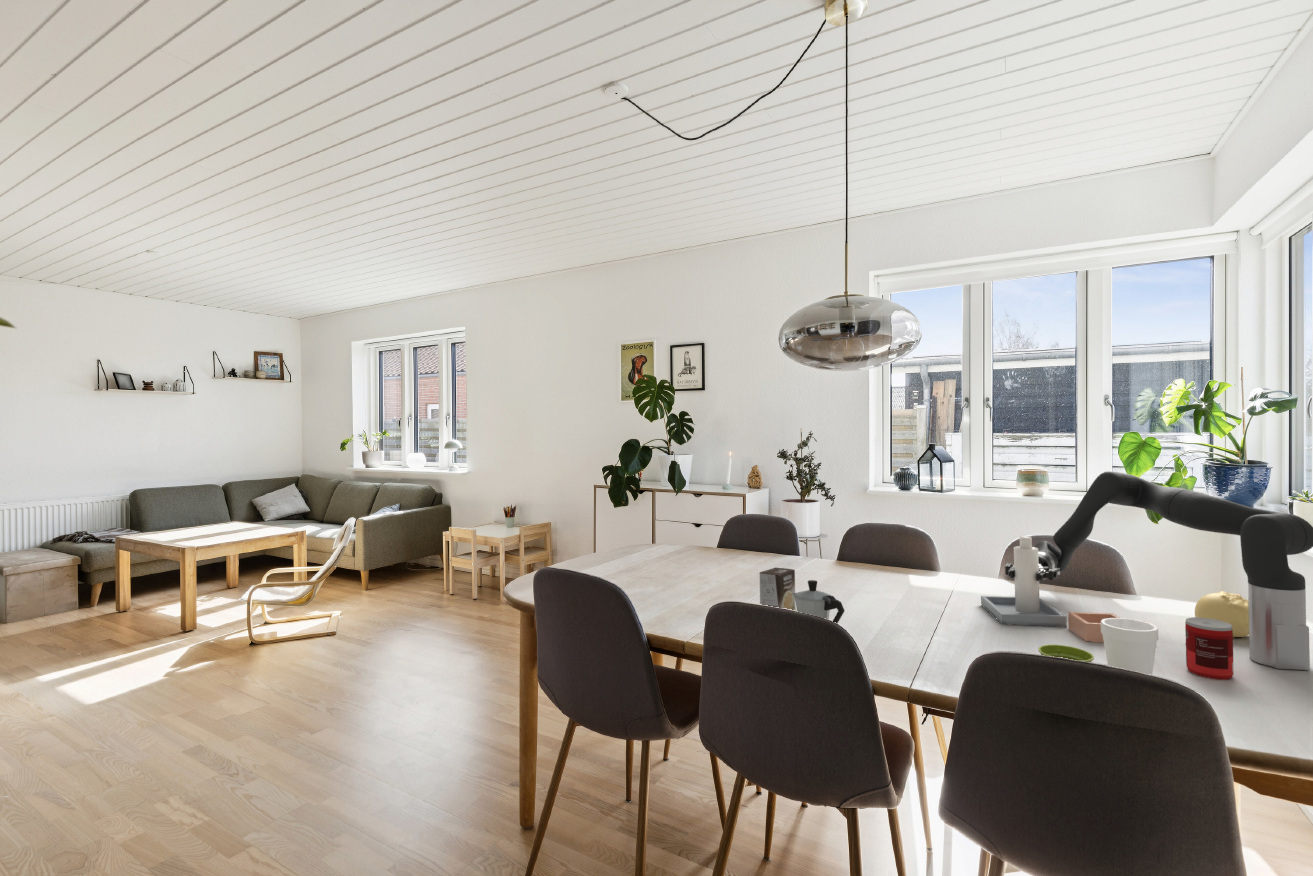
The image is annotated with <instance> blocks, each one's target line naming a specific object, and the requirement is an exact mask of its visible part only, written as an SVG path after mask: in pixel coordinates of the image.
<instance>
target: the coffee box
mask: <svg viewBox="0 0 1313 876" xmlns="http://www.w3.org/2000/svg"><path fill="white" fill-rule="evenodd" d="M795 571H796V570H795V569H792V568H786V567H782V568H781V567H774V568H770V569H766V570H763V571H760V572H759V605H760V604H762V605H768V606H773V607H779V608H787V609H792V610H795V611H796V601H795V597H794V595H793V594H792V593H796V572H795Z"/></svg>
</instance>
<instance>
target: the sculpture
mask: <svg viewBox="0 0 1313 876" xmlns="http://www.w3.org/2000/svg"><path fill="white" fill-rule="evenodd" d="M1194 617H1199V618H1209V619H1215V620H1220V621H1223V622H1226V623H1229V624H1231V625H1232V628H1233V638H1235V637H1242V638H1244V637H1247V636H1249V612H1248V600H1247V599H1246V598H1245V597H1242V596H1241V594H1238V593H1230V592H1227V591H1225V590H1221V591H1220V592H1213V593H1212V592H1211V593H1208V594H1205V595H1203V596H1202V597H1200V598H1199V599H1198V600H1197V601H1196V603H1195V607H1194Z"/></svg>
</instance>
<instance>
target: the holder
mask: <svg viewBox="0 0 1313 876" xmlns="http://www.w3.org/2000/svg"><path fill="white" fill-rule="evenodd" d="M1067 616H1068V621H1067V623H1068V624H1067V627H1068V630H1069V629H1070V630H1069V631H1071V632H1072V631H1073V632H1072V633H1073V634H1075V633H1076V634H1077V635H1076V634H1075V635H1076V636H1078V637H1079V636H1080V637H1079V638H1081V639H1082V640H1083V639H1084V640H1083V641H1085V642H1086V641H1091V643H1104V641H1103V635H1102V633H1101V620H1102V619H1106V618H1121V616H1118V615H1116V614H1114V613H1113V612H1112V613H1111V612H1109V613H1107V612H1106V613H1105V612H1082V611H1081V612H1080V611H1079V612H1077V611H1076V612H1075V611H1068V614H1067Z"/></svg>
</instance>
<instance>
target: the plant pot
mask: <svg viewBox="0 0 1313 876" xmlns="http://www.w3.org/2000/svg"><path fill="white" fill-rule="evenodd" d="M1037 650H1038V652H1039V653H1040V656H1041V655H1045V656H1052V657H1053V656H1054V657H1063V658H1068V659H1073V660H1077V661H1085V662H1091V663H1092V662H1093V661H1094V660H1095V656H1094V654H1093V653H1091V652H1089V651H1087V650H1085V649H1082V648H1079V647H1075V646H1070V645H1064V644H1044V645H1041V646H1039V647H1038V649H1037Z"/></svg>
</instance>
